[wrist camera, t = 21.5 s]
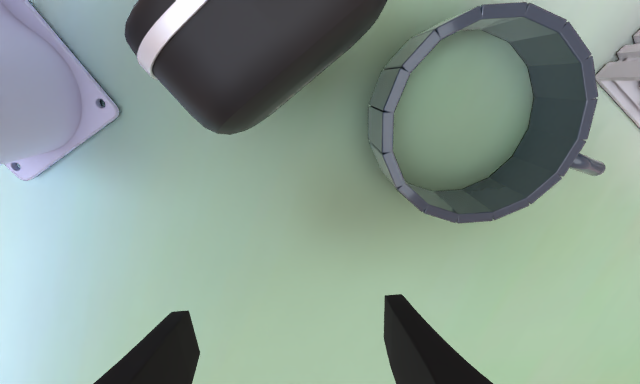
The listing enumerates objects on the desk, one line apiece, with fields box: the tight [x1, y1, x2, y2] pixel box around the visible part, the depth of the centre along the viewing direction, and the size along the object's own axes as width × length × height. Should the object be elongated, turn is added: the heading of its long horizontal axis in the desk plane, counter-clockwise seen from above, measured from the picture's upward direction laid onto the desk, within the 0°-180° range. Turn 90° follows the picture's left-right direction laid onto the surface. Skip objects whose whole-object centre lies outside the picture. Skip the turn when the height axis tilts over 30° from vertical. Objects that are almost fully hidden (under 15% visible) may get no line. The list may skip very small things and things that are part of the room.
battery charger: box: [125, 0, 387, 135], centre depth 12 cm, size 7×4×11 cm, turn 128°
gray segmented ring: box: [368, 2, 605, 223], centre depth 17 cm, size 14×11×4 cm
